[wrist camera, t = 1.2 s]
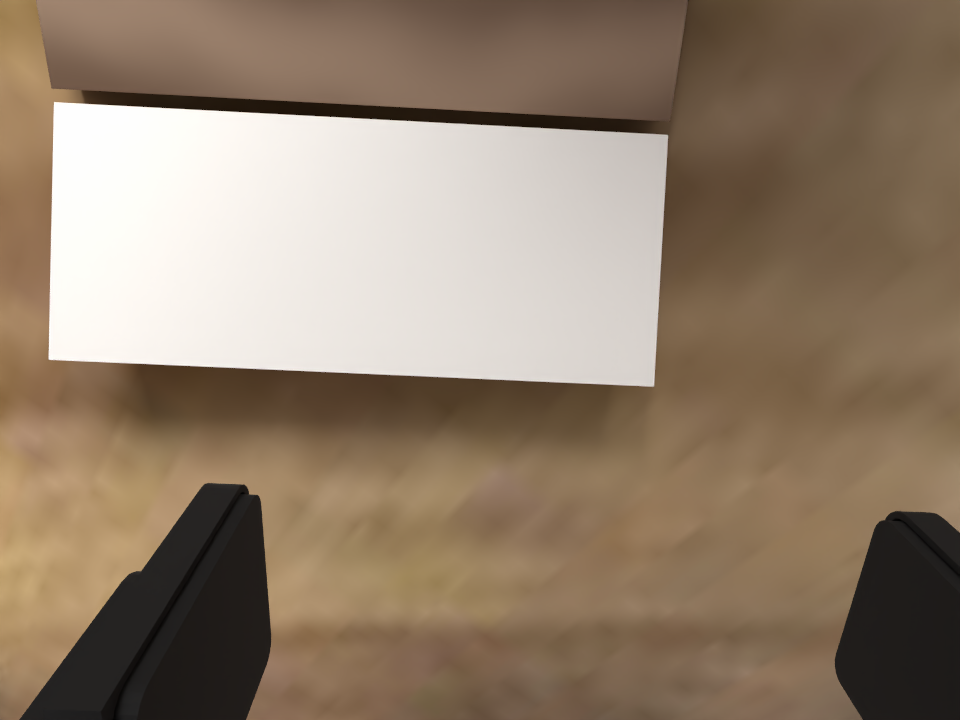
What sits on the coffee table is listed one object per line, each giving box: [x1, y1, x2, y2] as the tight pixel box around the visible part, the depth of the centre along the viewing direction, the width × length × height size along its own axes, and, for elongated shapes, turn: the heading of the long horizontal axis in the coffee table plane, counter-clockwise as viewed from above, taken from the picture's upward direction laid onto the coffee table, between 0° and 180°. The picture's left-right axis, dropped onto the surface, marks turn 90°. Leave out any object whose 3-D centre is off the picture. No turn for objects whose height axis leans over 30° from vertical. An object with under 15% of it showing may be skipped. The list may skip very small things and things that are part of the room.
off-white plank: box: [49, 102, 668, 387], centre depth 28 cm, size 10×24×2 cm, turn 86°
